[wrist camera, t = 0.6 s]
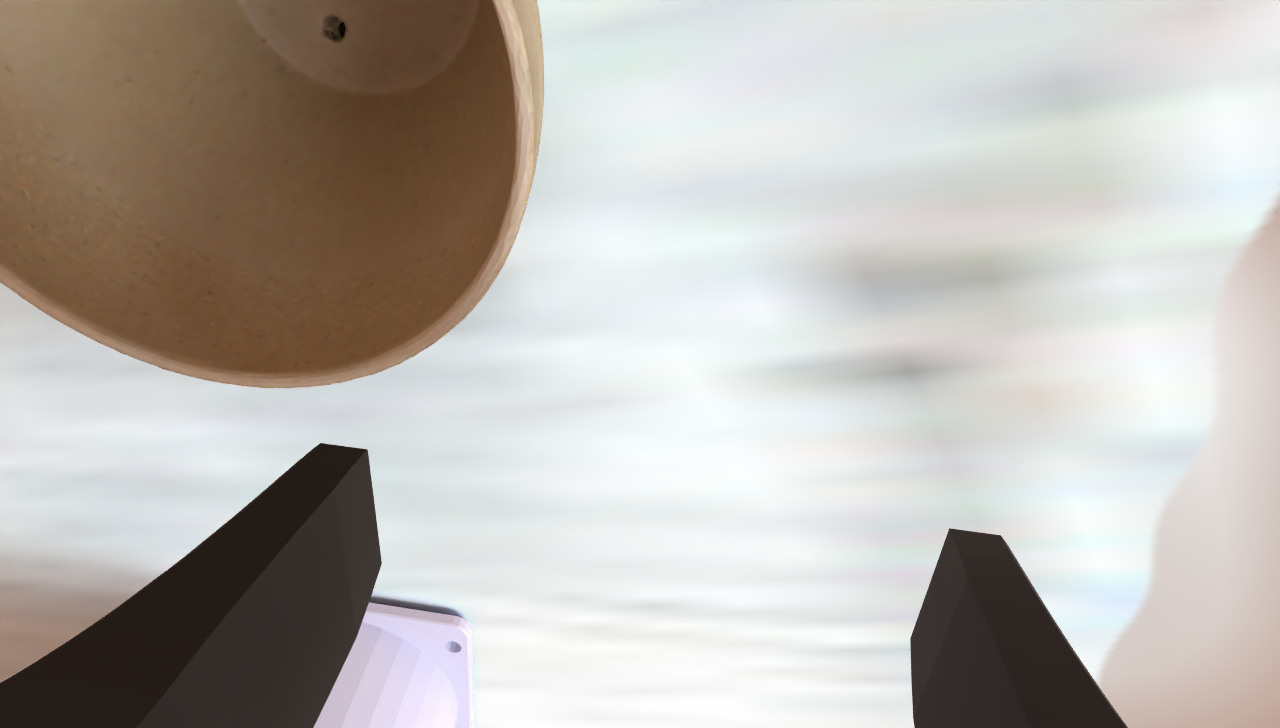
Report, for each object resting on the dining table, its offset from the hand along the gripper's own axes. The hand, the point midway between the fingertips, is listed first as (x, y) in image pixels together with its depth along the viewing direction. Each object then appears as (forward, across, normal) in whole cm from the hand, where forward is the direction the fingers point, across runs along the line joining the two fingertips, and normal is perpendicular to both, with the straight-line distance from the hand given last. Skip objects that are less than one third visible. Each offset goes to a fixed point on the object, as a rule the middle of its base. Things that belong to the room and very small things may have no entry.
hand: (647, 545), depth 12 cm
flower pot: (+10, +7, -4) cm, 13 cm away
